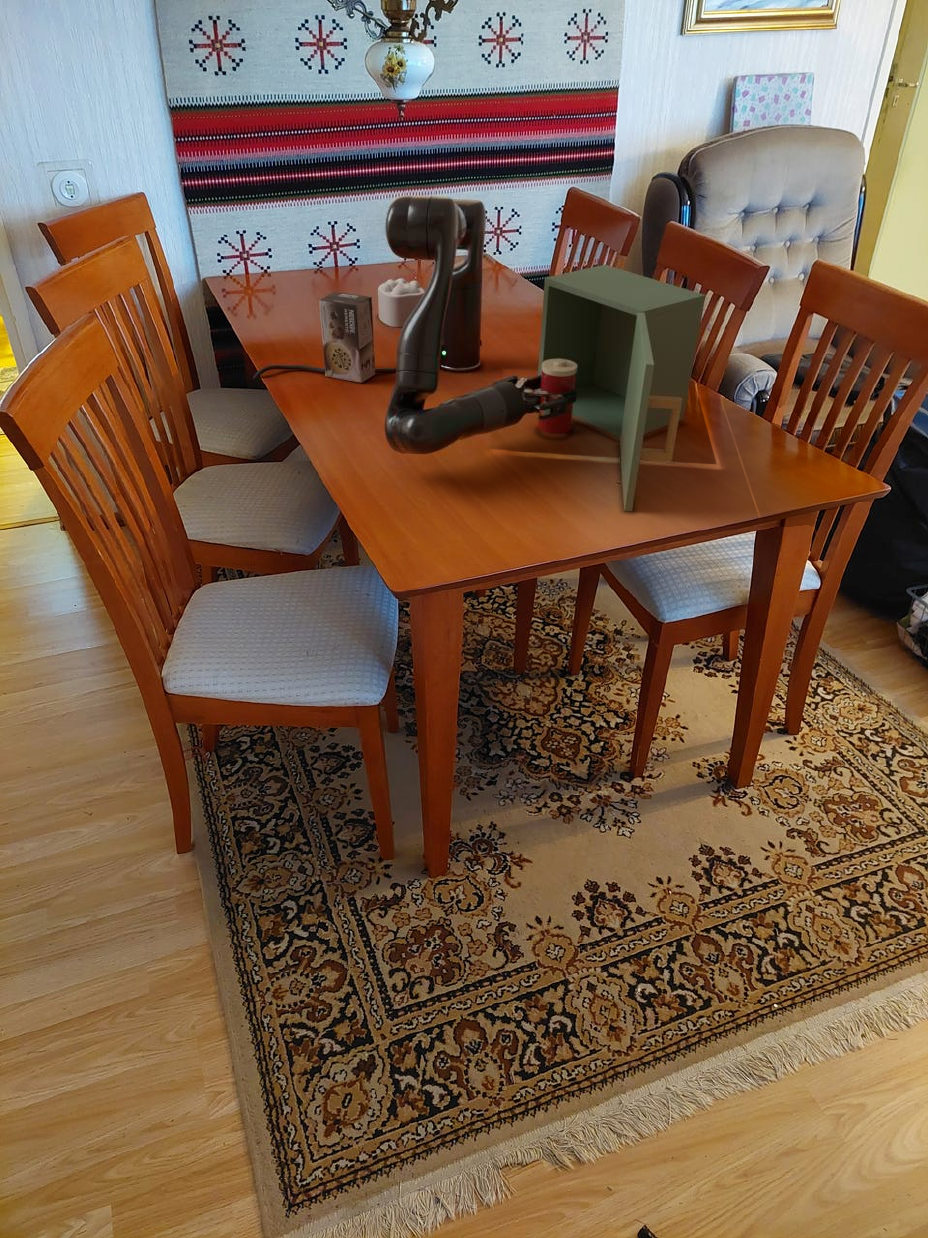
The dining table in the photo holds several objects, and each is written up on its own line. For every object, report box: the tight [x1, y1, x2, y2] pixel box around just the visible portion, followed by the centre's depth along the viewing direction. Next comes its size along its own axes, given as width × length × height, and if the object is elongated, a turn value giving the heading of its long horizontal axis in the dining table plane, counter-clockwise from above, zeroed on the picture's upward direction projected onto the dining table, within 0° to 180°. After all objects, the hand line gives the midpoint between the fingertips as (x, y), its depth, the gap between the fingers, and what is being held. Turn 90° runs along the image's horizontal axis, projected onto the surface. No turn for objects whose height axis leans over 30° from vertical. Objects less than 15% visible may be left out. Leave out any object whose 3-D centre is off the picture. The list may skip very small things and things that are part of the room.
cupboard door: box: [619, 313, 682, 512], centre depth 144 cm, size 6×24×24 cm, turn 174°
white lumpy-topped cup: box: [377, 277, 426, 328], centre depth 216 cm, size 10×13×9 cm
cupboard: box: [536, 264, 706, 438], centre depth 166 cm, size 16×24×24 cm, turn 39°
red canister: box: [537, 359, 578, 435], centre depth 161 cm, size 6×6×14 cm
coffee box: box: [318, 291, 376, 384], centre depth 182 cm, size 9×6×16 cm
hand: (558, 387), depth 160 cm, fingers open, 8 cm apart
